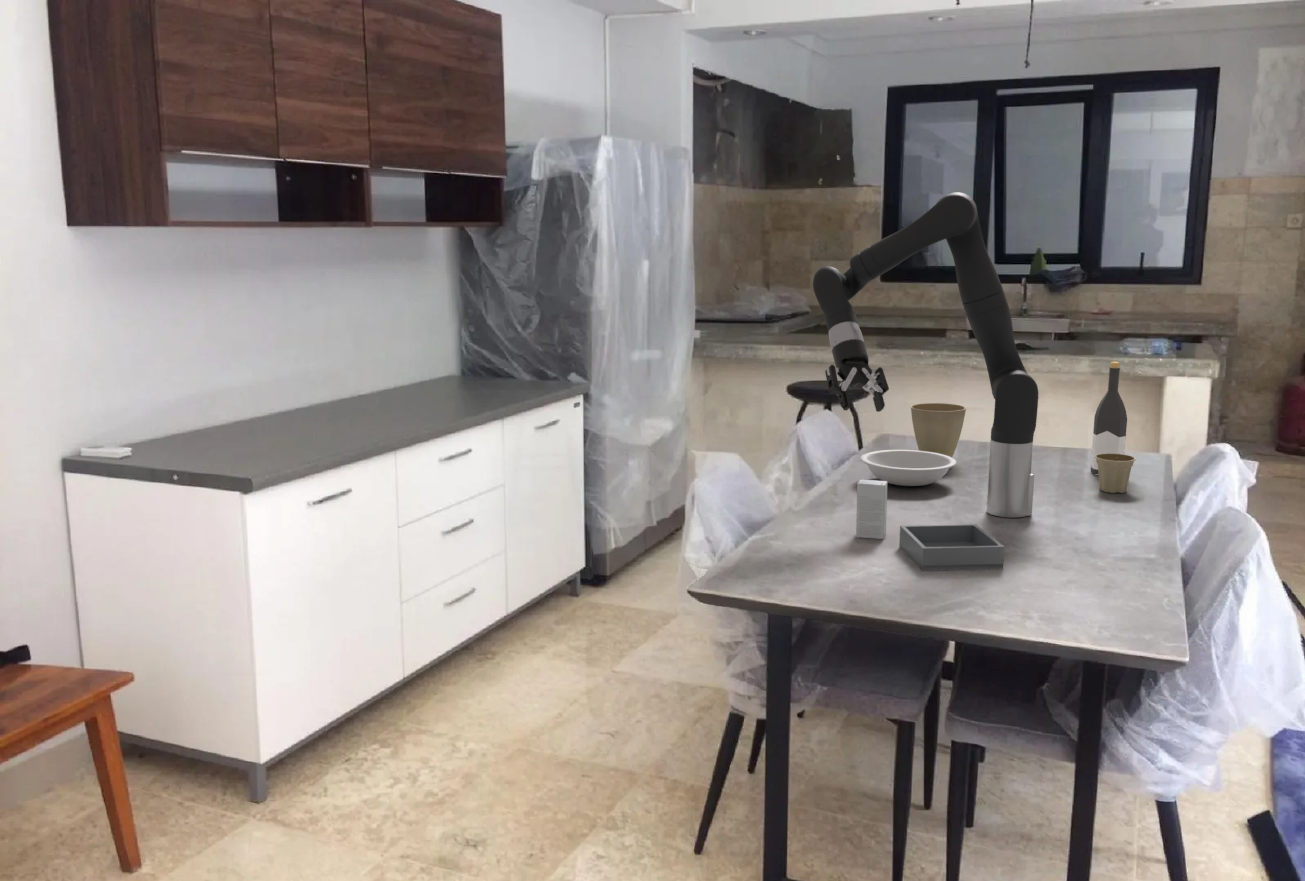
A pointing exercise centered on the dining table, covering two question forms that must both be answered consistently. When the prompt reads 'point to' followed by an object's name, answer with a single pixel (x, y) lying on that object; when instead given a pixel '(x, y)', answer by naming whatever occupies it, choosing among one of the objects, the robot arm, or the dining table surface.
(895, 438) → the dining table surface
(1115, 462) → the flower pot
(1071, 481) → the dining table surface
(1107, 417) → the wine bottle
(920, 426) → the plant pot
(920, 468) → the soup bowl
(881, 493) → the skincare box
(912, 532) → the gray square tray
